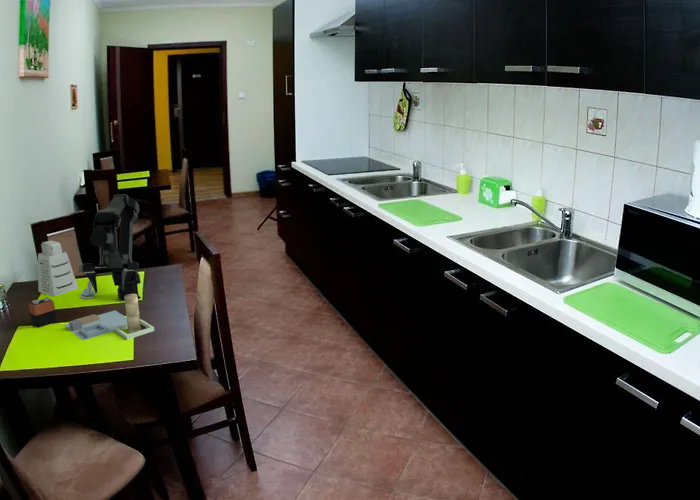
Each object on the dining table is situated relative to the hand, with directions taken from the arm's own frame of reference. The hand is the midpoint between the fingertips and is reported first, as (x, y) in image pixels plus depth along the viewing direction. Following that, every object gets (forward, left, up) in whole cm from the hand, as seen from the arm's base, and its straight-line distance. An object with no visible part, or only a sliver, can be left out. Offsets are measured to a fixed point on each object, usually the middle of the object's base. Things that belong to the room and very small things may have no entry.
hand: (110, 291), depth 203 cm
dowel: (0, +16, -10) cm, 19 cm away
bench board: (+6, +3, -11) cm, 13 cm away
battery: (+19, -12, -11) cm, 25 cm away
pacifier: (-3, -30, -11) cm, 32 cm away
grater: (+3, -46, -11) cm, 48 cm away
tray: (0, +16, -11) cm, 20 cm away
